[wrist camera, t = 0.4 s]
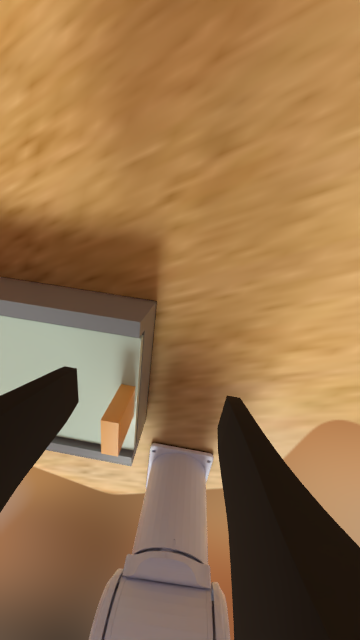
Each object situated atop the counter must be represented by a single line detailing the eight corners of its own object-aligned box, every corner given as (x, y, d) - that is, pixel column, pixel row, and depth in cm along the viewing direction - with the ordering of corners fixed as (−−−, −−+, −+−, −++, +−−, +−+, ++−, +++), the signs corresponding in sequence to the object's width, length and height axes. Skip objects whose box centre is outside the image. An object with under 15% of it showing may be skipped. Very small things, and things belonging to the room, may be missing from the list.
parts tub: (145, 419, 23) (131, 466, 18) (12, 395, 24) (-37, 434, 19) (156, 301, 18) (140, 322, 13) (-16, 274, 19) (-95, 284, 14)
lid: (135, 444, 19) (119, 494, 15) (-29, 414, 20) (-84, 454, 16) (143, 335, 15) (123, 366, 11) (-68, 300, 15) (-157, 318, 11)
